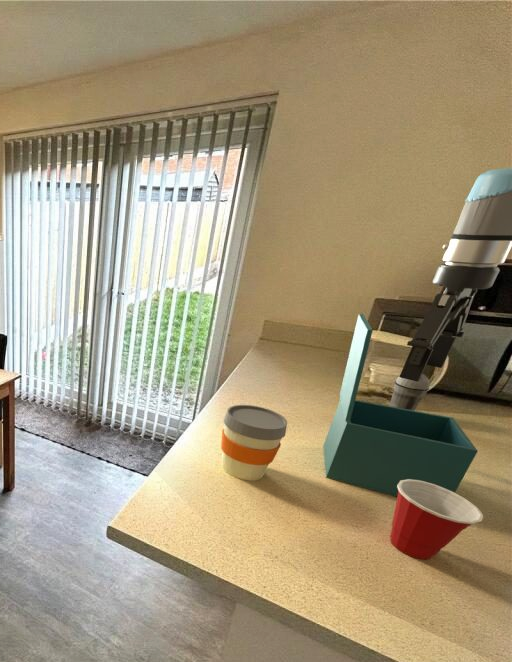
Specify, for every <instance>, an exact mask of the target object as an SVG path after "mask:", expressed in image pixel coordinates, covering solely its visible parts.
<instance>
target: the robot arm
mask: <svg viewBox="0 0 512 662" xmlns="http://www.w3.org/2000/svg"><path fill="white" fill-rule="evenodd" d="M464 202H465V203H464V205H463V208H462V210H461V213H460V215H459V218H458V221H457V223H456V226H455V227H454V230H453V232H452V235H451V237H450V240H449V243H444V245H443V246H442V249H443V250H445V251H444V254H443V256H442V259H441V261H443V262H445V263H442V264H440V265H439V266H438V268H437V269H436V272H435V274H434V276H433V280H432V283H433V284H434V285H435V286H438V287H439V286H440V287H445V290H444V291H443V293H437V294H436V295H435V296H434V299H433V301H432V304H431V305H430V307H429V309H428V311H427V313H426V314H425V316H424V318H423V320H422V322H421V323H420V325H419V327H418V329H417V330H416V332H415V333H414V335H413V337H412V338H411V340H408V341H407V343H406V345H407V346H408V347H411V349H410V351H409V353H408V354H407V355H408V356H407V358H406V361H405V362H404V364H403V366H402V370H401V372H400V374H399V376H398V377H400V378H404V379H409V380H413V381H417V382H418V381H419V380H420V378H421V375H422V374H424V371H425V369H426V366H430V367H435V368H439V369H442V368H443V367H444V365H445V363H446V361H447V359H448V356H449V354H450V352H451V350H452V348H453V346H454V344H455V341H456V339H457V338H463V337H464V335H465V332H463V331H464V327H465V323H466V320H467V318H468V314H469V312H470V308H471V305H472V304H473V300H474V298H475V295H476V294H477V292H478V290H487V289H490V288H492V287H493V285H494V283H495V281H496V279H497V277H498V275H499V273H500V271H501V269H500V267H499V265H502V264H504V263H505V262H506V259H507V257H508V256H509V253H510V251H511V249H512V167H509V168H508V167H507V168H497V169H490V170H487V171H484V172H483V173H481V174H480V175H478V177H477V178H476V179H475V182H474V184H473V185H472V187H471V189H470V192H469V194H468V196H467V197H466V198H465V200H464Z"/></svg>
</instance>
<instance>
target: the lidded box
mask: <svg viewBox="0 0 512 662" xmlns="http://www.w3.org/2000/svg"><path fill="white" fill-rule="evenodd" d="M322 449H323V458H324V468H325V477H326V479H331V480H333V481H334V480H335V481H337V482H341V483H346V484H349V485H352V486H356V487H360V488H364V489H366V490H371V491H375V492H379V493H381V494H385V495H389V496H393V497H396V498H397V497H398V488H397V485H398V483H399V482H400V481H401V480H407V479H411V480H419V481H424V482H427V483H431V484H435V485H437V486H440V487H442V488H445V489H447V490H450V491H452V492H454V493H456V492H457V490H458V488H459V486H460V484H461V483H462V481H463V479H464V477H465V475H466V473H467V471H469V468H470V466H471V465H472V463H473V461H474V459H475V457H476V456H477V454H478V449H477V448H476V446H475V445H474V444H473V442H472V441H471V440H470V438H469V437H468V436H467V434H466V432H465V431H464V430H463V428H462V427H461V426H460V425H459V424H458V422H457V420H456V419H455V418H454V417H451V416H446V415H440V414H434V413H429V412H424V411H419V410H414V411H413V410H408V409H402V408H397V407H391V406H390V405H385V404H379V403H374V402H369V401H365V400H364V401H363V400H357V399H355V403H354V407H353V411H352V415H351V419H350V422H346V421H345V418H344V413H343V409H342V404H341V399H340V398H339V402H338V404H337V407H336V411H335V413H334V415H333V417H332V420H331V423H330V426H329V429H328V431H327V435H326V438H325V441H324V443H323V447H322Z"/></svg>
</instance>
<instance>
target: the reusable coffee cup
mask: <svg viewBox="0 0 512 662" xmlns="http://www.w3.org/2000/svg"><path fill="white" fill-rule="evenodd" d="M223 423H224V428H222V430H221V443H220V449H221V450H222V454H221V468H222V469H223V471H225V472H226V473H227V474H229V475H231V476H233V477H235V478H237V479H240V480H243V481H258V480H260V479H262V478H263V477H264V474H265V473H266V471H267V469H268V467H269V465H270V464H271V463H273V461H274V460H275V458H276V455H277V453H278V452H279V450H280V448H281V444H282V443H281V442H282V439H284V438H285V436H286V433H287V428H288V420H287V419H286V418H285V417H284V416H283V415H282V414H280V413H278V412H276V411H274V410H272V409H269V408H266V407H262V406H258V405H251V404H235V405H232V406H230V407H228V408H227V410H226V413H225V415H224V418H223Z"/></svg>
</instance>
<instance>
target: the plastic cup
mask: <svg viewBox="0 0 512 662" xmlns="http://www.w3.org/2000/svg"><path fill="white" fill-rule="evenodd" d="M397 488H398V497H396V504H395V508H394V514H393V518H392V522H391V530H390V534H389V538H390V539H389V540H390V543H391V544H392V546H393V547H394V548H395V549H396V550H398V551H400V552H401V553H402V554H405V555H407V556H409V557H412V558H414V559H418V560H429V559H431V558H433V557H435V556H436V555H437V554H439V552H440V551H441V550H442V549H443V548H445V547H446V546H447V545H448V544H450V542H452V541H453V540H454V539H455V538H456V537H457V536H458V535H460V533H461V532H463V530H466V529H467V528H468V527H470V526H472V525H475V524H477V523H478V524H479V523H481V522H482V521H483V518H484V514H483V513H482V511H481V509H480V508H479V507H477V506H476V505H475V504H473V503H472V502H471V501H470V500H468V499H466V498H465V497H463V496H461V495H459V494H458V493H456V492H455V493H454V492H452V491H450V490H447V489H445V488H442V487H440V486H437V485H435V484H431V483H427V482H424V481H419V480H411V479H407V480H401V481H400V482H399V483H398V485H397Z"/></svg>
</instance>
